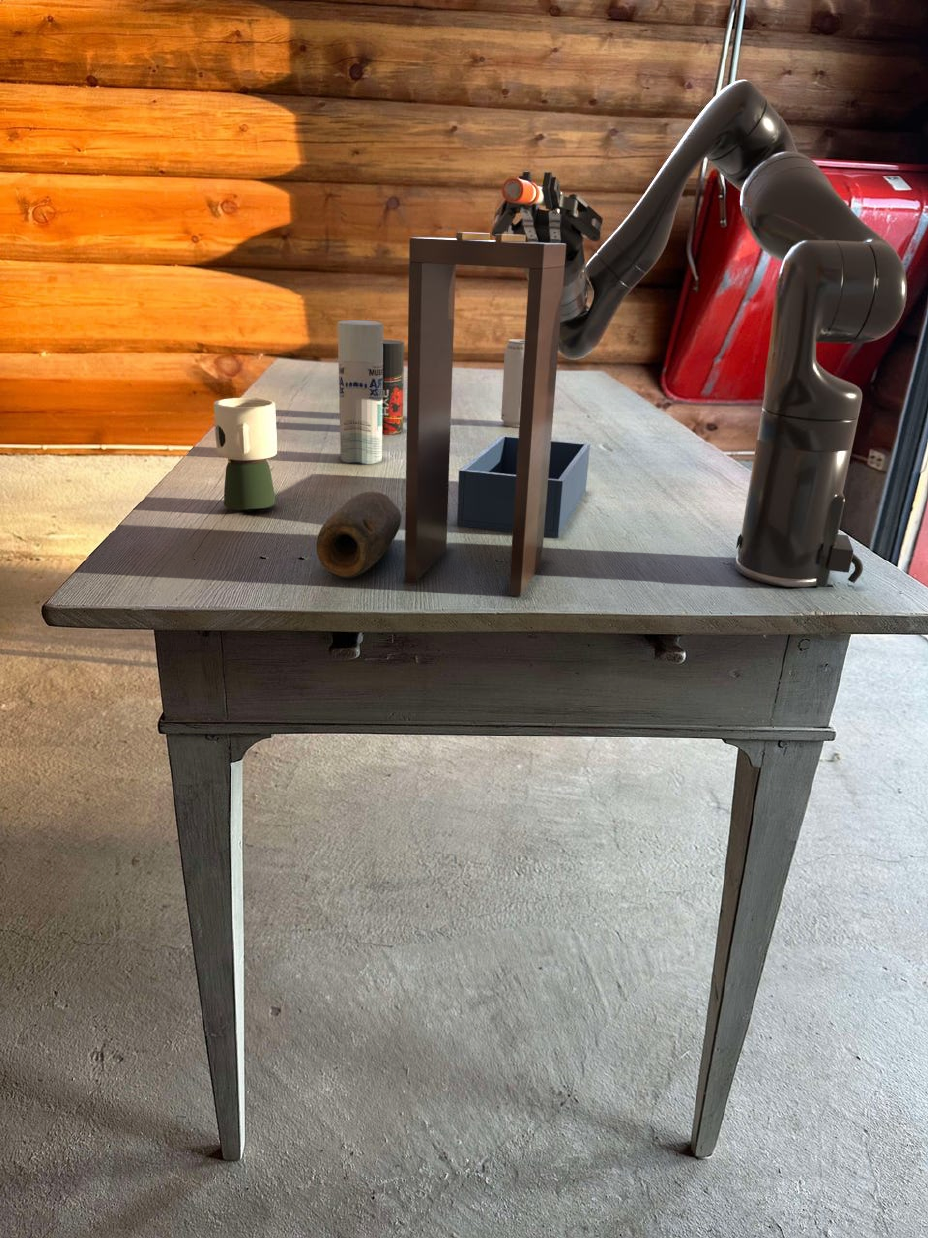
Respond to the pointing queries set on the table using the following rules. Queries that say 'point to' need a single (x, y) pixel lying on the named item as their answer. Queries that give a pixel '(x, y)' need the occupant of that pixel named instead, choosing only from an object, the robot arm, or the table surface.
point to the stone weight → (358, 534)
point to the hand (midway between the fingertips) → (536, 179)
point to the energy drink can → (512, 382)
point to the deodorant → (392, 387)
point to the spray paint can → (360, 390)
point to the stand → (434, 391)
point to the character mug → (246, 450)
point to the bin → (494, 481)
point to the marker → (522, 192)
